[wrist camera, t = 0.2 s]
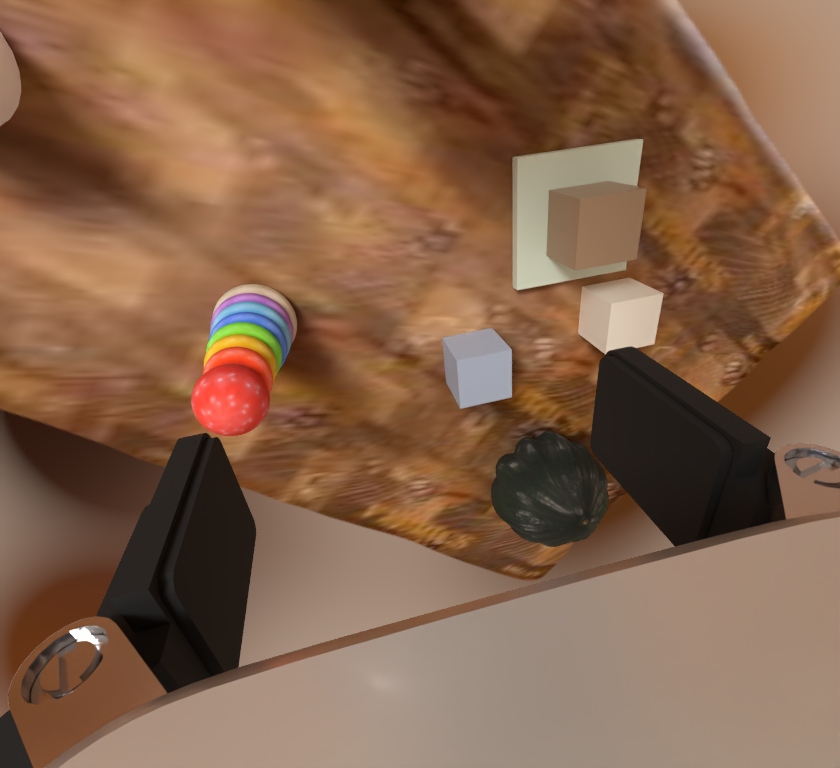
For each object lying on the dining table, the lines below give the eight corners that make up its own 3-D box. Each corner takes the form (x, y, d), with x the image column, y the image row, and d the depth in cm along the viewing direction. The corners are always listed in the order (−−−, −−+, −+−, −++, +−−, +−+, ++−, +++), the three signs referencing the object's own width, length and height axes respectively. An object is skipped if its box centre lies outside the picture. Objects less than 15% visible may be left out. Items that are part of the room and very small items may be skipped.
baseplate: (512, 156, 43) (546, 162, 37) (635, 138, 44) (687, 140, 38) (512, 287, 49) (541, 309, 43) (619, 267, 51) (661, 286, 45)
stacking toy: (313, 317, 46) (316, 417, 31) (263, 368, 48) (241, 488, 32) (249, 264, 42) (214, 347, 27) (197, 322, 44) (135, 432, 28)
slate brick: (441, 337, 51) (456, 360, 46) (491, 327, 52) (511, 349, 47) (446, 382, 54) (460, 408, 49) (493, 372, 55) (511, 397, 50)
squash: (536, 551, 65) (629, 571, 53) (458, 518, 59) (542, 533, 46) (555, 459, 70) (645, 458, 58) (485, 421, 64) (568, 410, 51)
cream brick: (581, 286, 51) (611, 303, 46) (629, 277, 52) (663, 293, 47) (577, 333, 55) (605, 354, 49) (622, 324, 55) (654, 344, 50)
